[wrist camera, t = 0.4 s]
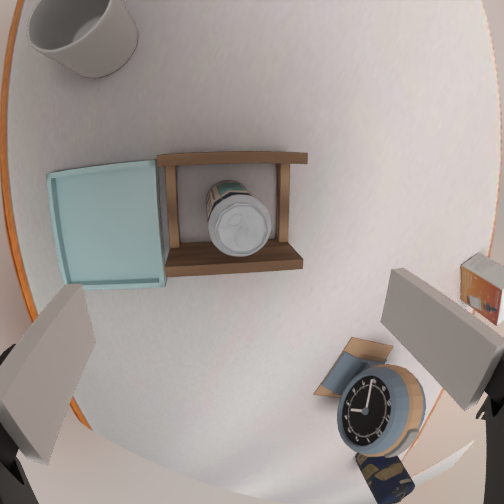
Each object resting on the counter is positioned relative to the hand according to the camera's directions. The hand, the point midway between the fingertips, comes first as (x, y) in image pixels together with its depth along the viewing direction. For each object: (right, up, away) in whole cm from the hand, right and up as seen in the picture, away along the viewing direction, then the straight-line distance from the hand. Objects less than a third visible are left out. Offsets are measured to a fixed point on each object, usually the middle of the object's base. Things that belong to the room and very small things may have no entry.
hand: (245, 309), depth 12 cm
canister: (+30, -47, +46) cm, 72 cm away
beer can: (-2, +8, +21) cm, 23 cm away
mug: (-17, +27, +12) cm, 34 cm away
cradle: (-2, +8, +21) cm, 22 cm away
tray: (-16, +5, +19) cm, 26 cm away
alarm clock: (+17, -18, +34) cm, 42 cm away
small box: (+40, -2, +32) cm, 51 cm away
